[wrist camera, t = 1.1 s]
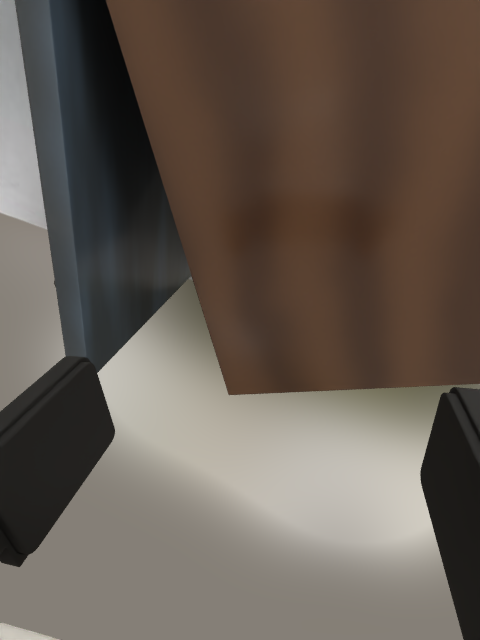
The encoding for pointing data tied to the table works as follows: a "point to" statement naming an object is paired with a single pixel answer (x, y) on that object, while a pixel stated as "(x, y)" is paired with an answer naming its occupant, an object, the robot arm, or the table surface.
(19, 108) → the table surface
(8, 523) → the robot arm
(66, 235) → the door
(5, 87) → the table surface
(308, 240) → the cupboard
